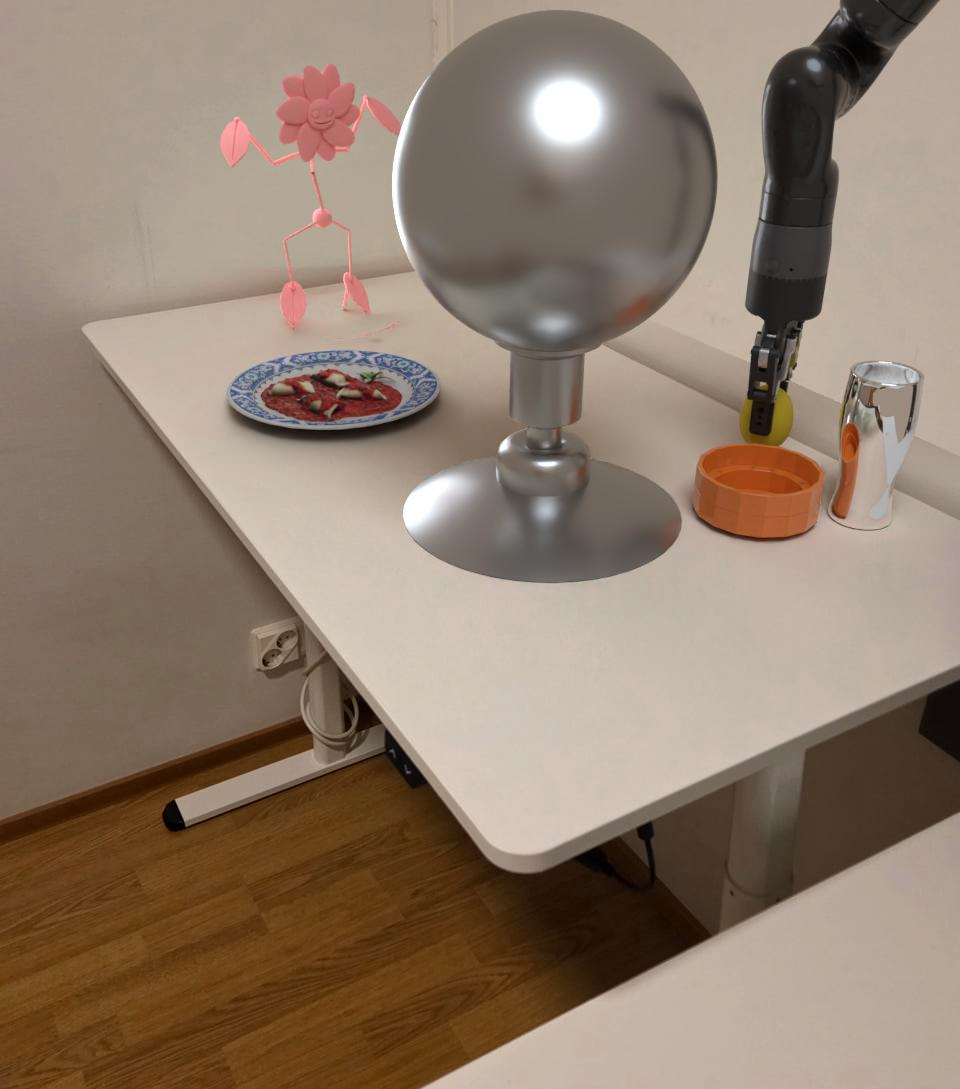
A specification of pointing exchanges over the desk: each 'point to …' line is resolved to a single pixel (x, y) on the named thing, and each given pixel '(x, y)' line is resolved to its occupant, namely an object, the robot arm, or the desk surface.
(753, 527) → the bowl
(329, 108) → the figurine
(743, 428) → the lemon
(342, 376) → the ceramic plate
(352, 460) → the desk surface
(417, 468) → the desk surface
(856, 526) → the beer glass
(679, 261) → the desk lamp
